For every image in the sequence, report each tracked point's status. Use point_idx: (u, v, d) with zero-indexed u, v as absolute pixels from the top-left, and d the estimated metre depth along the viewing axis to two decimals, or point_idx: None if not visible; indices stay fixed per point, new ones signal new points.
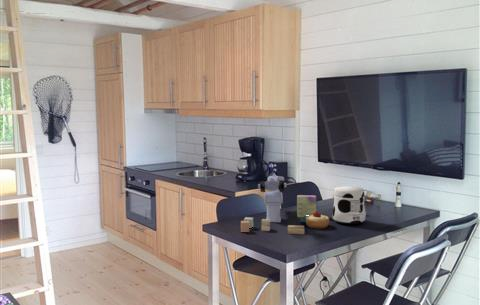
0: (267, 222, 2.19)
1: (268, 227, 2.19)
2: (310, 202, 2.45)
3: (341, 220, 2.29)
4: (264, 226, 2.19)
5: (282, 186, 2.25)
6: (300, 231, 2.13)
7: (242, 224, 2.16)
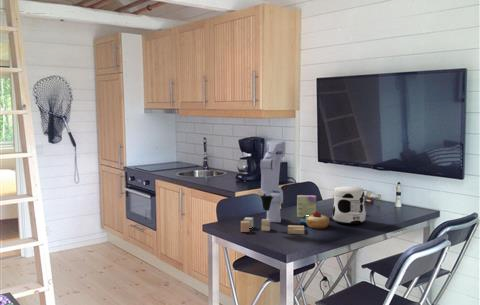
0: (267, 222, 2.19)
1: (268, 227, 2.19)
2: (310, 202, 2.45)
3: (341, 220, 2.29)
4: (264, 226, 2.19)
5: (268, 197, 2.15)
6: (300, 231, 2.13)
7: (242, 224, 2.16)
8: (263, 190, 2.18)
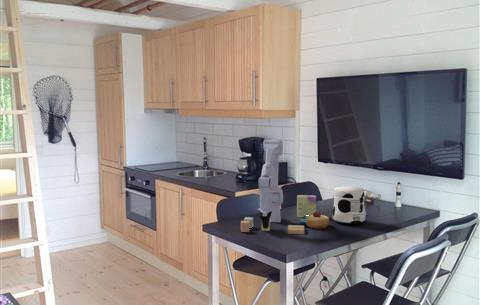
0: None
1: (268, 227, 2.19)
2: (310, 202, 2.45)
3: (341, 220, 2.29)
4: None
5: None
6: (300, 231, 2.13)
7: (242, 224, 2.16)
8: (261, 208, 2.18)
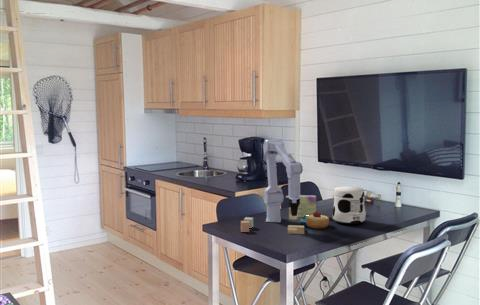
0: None
1: None
2: (310, 202, 2.45)
3: (341, 220, 2.29)
4: None
5: None
6: (300, 231, 2.13)
7: (242, 224, 2.16)
8: (290, 195, 2.14)
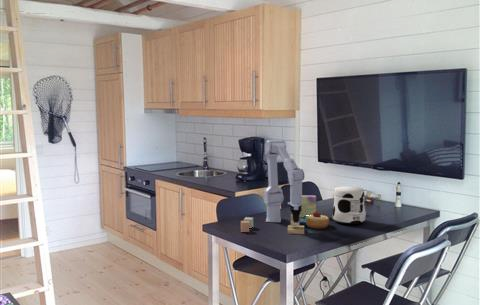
0: None
1: None
2: (310, 202, 2.45)
3: (341, 220, 2.29)
4: None
5: None
6: (300, 231, 2.13)
7: (242, 224, 2.16)
8: (292, 202, 2.14)
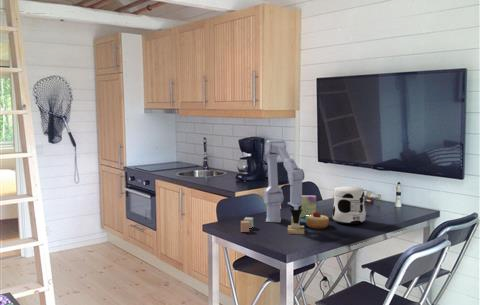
0: None
1: (298, 225, 2.15)
2: (310, 202, 2.45)
3: (341, 220, 2.29)
4: (294, 223, 2.15)
5: None
6: (300, 231, 2.13)
7: (242, 224, 2.16)
8: (292, 202, 2.14)
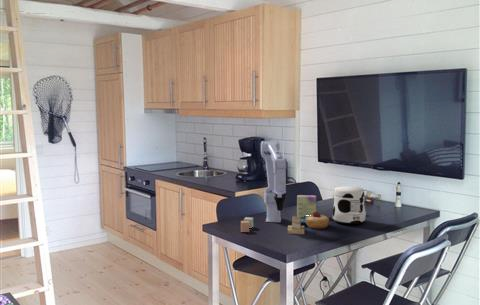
0: (298, 220, 2.15)
1: (299, 225, 2.15)
2: (310, 202, 2.45)
3: (341, 220, 2.29)
4: (295, 223, 2.15)
5: None
6: (300, 231, 2.13)
7: (242, 224, 2.16)
8: (276, 190, 2.21)
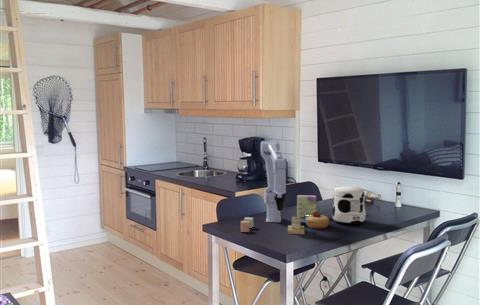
0: (297, 220, 2.15)
1: (298, 225, 2.15)
2: (310, 202, 2.45)
3: (341, 220, 2.29)
4: (295, 223, 2.15)
5: None
6: (300, 231, 2.13)
7: (242, 224, 2.16)
8: (276, 190, 2.21)
